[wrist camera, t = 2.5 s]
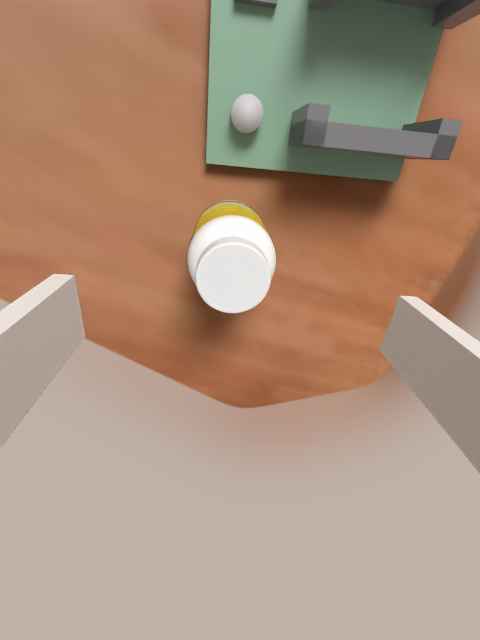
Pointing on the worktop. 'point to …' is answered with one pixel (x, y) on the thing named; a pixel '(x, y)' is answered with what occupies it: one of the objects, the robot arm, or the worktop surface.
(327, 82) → the board
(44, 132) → the worktop surface
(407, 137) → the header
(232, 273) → the supplement bottle
